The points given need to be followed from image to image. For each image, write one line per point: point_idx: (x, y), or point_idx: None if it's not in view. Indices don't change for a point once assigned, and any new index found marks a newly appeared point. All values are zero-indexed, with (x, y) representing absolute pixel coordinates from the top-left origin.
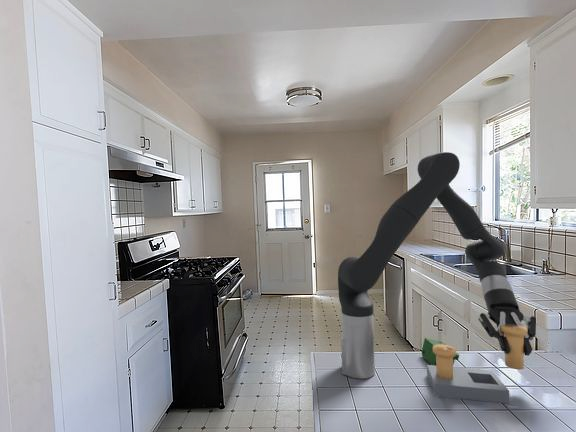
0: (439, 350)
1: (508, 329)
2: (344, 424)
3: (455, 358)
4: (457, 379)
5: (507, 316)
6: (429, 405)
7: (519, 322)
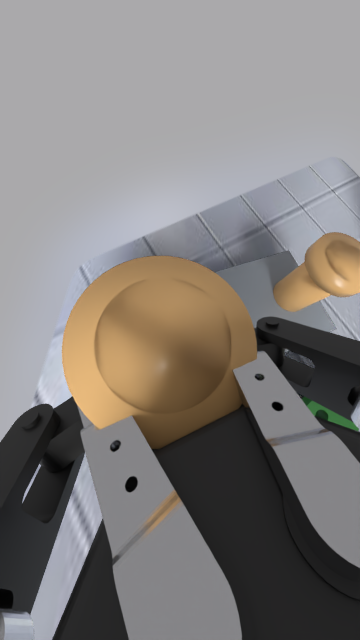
0: (347, 240)
1: (200, 266)
2: (323, 164)
3: (304, 399)
4: (263, 287)
5: (258, 547)
6: (270, 234)
7: (109, 466)
